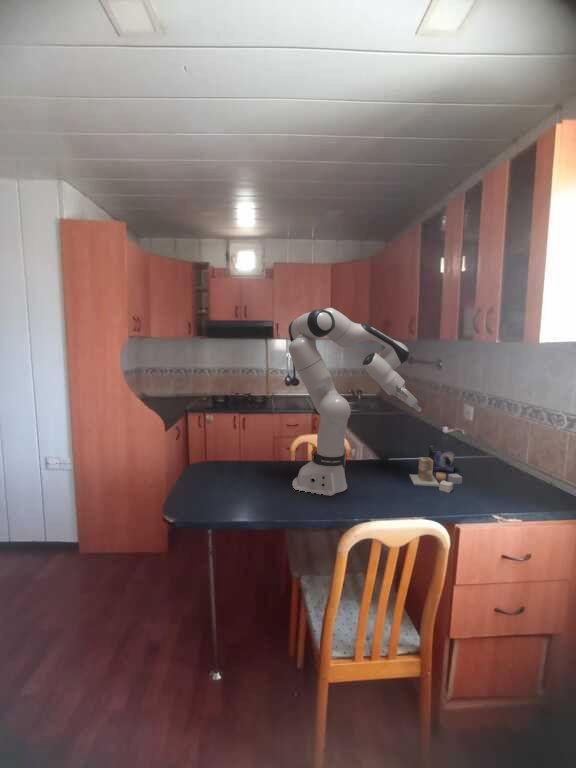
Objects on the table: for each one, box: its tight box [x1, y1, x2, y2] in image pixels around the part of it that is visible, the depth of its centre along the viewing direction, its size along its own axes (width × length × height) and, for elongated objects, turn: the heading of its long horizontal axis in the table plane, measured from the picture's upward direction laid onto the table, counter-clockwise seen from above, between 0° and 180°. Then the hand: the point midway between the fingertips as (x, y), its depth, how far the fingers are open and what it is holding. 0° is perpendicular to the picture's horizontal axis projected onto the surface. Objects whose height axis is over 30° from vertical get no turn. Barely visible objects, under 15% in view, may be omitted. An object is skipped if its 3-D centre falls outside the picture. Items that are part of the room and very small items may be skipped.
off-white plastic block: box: [438, 480, 454, 493], centre depth 148 cm, size 4×4×3 cm
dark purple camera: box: [428, 445, 456, 474], centre depth 169 cm, size 11×6×10 cm, turn 76°
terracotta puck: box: [435, 471, 447, 483], centre depth 158 cm, size 4×4×3 cm
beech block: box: [417, 456, 434, 482], centre depth 156 cm, size 4×4×9 cm
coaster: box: [409, 473, 440, 487], centre depth 157 cm, size 10×10×1 cm
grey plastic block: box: [447, 473, 463, 485], centre depth 156 cm, size 4×4×3 cm
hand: (416, 408), depth 154 cm, fingers open, 8 cm apart
